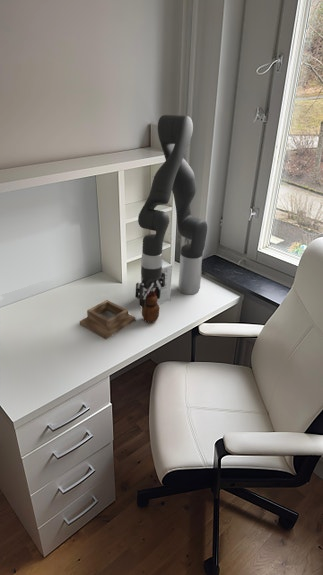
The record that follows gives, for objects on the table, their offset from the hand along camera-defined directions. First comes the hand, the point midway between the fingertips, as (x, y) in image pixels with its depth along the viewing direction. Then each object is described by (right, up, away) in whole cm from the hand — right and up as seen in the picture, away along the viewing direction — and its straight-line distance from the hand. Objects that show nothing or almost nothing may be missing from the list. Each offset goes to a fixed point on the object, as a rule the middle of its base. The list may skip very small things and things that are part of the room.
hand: (149, 302), depth 156 cm
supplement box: (+2, +1, +19) cm, 19 cm away
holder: (-16, -8, +2) cm, 18 cm away
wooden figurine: (0, -7, +4) cm, 9 cm away
